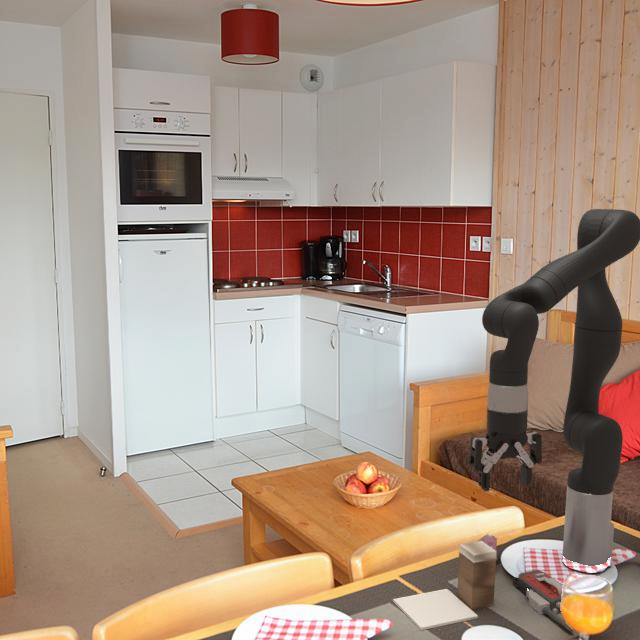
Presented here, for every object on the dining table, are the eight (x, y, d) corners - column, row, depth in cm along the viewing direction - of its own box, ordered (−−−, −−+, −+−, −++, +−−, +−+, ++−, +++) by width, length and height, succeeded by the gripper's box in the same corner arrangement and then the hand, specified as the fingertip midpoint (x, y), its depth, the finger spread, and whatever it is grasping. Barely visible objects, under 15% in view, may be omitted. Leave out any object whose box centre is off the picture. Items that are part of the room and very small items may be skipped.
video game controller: (485, 581, 165) (502, 554, 163) (466, 569, 165) (483, 542, 164) (485, 560, 174) (501, 534, 173) (466, 549, 175) (482, 524, 173)
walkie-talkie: (502, 587, 160) (567, 638, 141) (504, 566, 159) (568, 615, 141) (539, 580, 163) (606, 629, 144) (540, 560, 162) (608, 607, 144)
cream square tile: (446, 591, 157) (446, 588, 157) (477, 618, 147) (477, 615, 147) (392, 601, 152) (392, 599, 152) (420, 630, 142) (421, 627, 142)
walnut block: (478, 593, 156) (481, 540, 155) (493, 605, 152) (496, 551, 150) (457, 597, 154) (459, 544, 153) (471, 610, 150) (474, 555, 148)
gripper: (530, 397, 155) (527, 476, 158) (464, 403, 151) (462, 484, 154) (551, 407, 148) (548, 490, 151) (482, 414, 144) (480, 498, 147)
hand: (504, 487), depth 152 cm, fingers open, 8 cm apart
